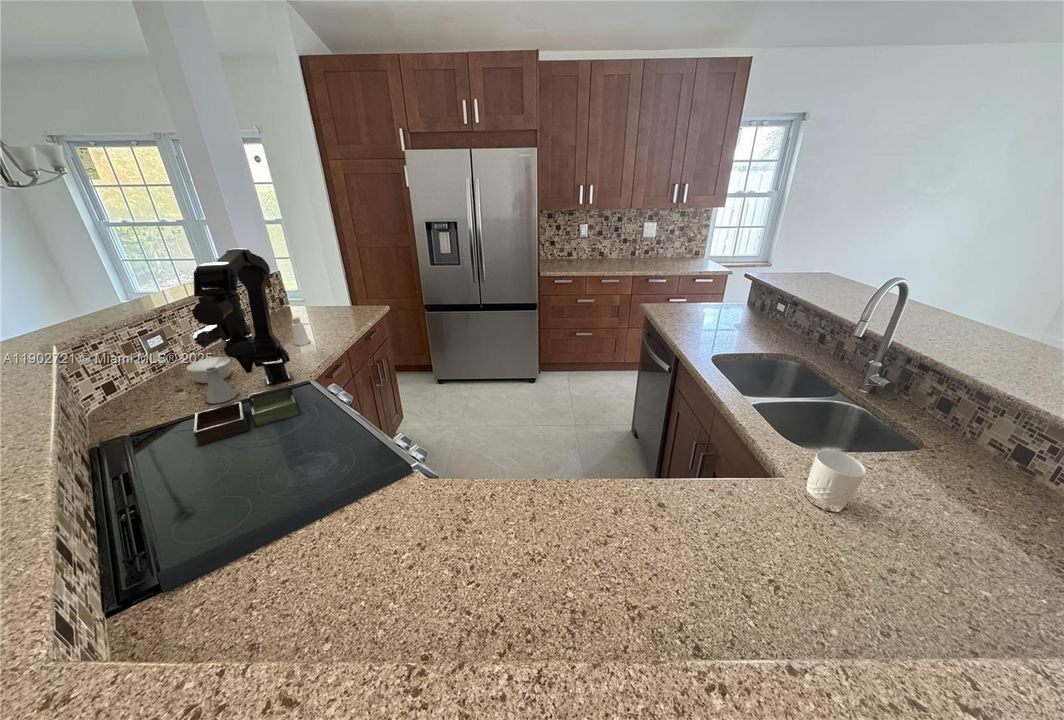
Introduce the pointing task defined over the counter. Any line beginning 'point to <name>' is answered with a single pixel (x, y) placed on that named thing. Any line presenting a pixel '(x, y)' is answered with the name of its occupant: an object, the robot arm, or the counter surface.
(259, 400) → the top basket
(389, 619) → the counter surface
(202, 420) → the bottom basket
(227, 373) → the ramekin
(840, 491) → the white cup
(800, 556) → the counter surface
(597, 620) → the counter surface
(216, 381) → the flask
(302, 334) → the pepper shaker
